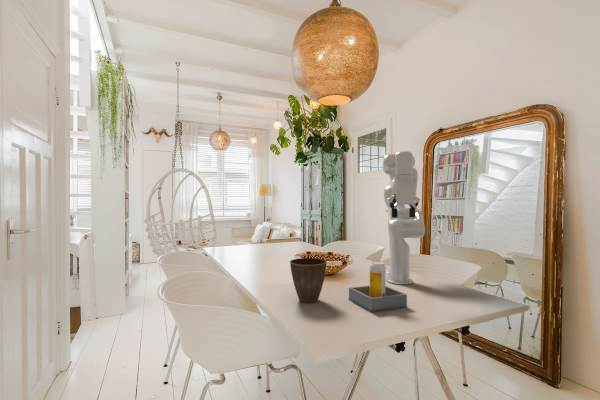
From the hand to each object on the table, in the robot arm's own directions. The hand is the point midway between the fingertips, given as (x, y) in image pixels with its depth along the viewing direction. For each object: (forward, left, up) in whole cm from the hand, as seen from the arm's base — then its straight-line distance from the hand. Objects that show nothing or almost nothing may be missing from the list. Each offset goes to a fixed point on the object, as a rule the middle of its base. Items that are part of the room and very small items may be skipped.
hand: (403, 217), depth 143 cm
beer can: (+10, -21, -32) cm, 40 cm away
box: (+10, -21, -33) cm, 41 cm away
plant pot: (-3, -45, -34) cm, 56 cm away
